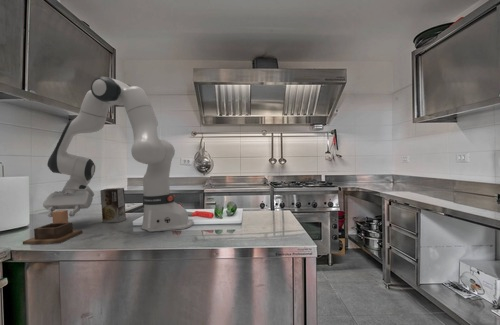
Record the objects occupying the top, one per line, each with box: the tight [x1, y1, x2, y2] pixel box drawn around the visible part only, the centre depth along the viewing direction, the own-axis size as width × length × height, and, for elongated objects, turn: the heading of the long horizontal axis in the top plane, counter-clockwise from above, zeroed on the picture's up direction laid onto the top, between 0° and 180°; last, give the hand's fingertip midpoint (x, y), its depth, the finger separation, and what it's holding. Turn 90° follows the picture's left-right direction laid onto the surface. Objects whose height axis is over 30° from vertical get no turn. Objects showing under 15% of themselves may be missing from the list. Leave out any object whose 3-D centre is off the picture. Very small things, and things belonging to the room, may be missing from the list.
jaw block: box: [51, 209, 69, 223], centre depth 122 cm, size 4×4×9 cm
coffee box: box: [99, 187, 127, 223], centre depth 139 cm, size 9×6×16 cm
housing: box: [22, 222, 84, 245], centre depth 111 cm, size 14×14×5 cm
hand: (60, 216), depth 123 cm, fingers open, 8 cm apart
